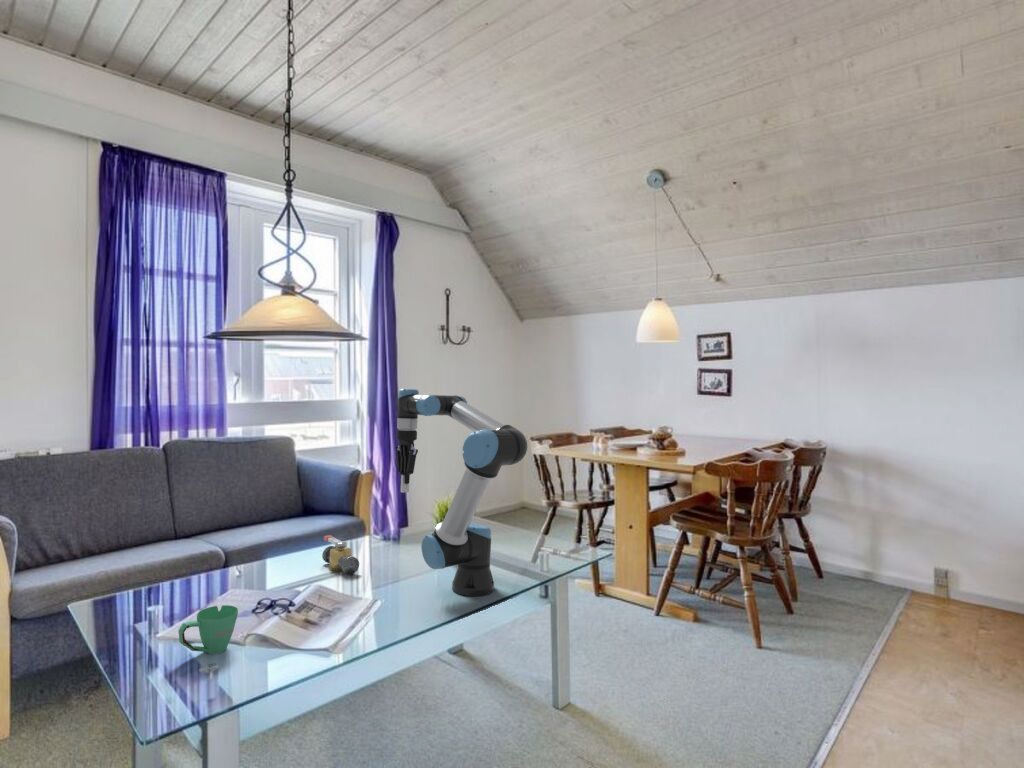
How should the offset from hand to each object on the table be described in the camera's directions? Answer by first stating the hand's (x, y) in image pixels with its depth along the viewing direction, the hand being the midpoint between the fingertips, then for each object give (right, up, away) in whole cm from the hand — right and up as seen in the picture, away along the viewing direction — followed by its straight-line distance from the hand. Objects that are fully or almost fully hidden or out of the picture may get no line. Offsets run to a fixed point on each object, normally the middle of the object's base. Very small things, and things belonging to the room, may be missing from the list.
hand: (404, 492), depth 217 cm
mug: (-39, -30, -66) cm, 83 cm away
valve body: (-27, -32, +8) cm, 42 cm away
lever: (-30, -23, +12) cm, 39 cm away
